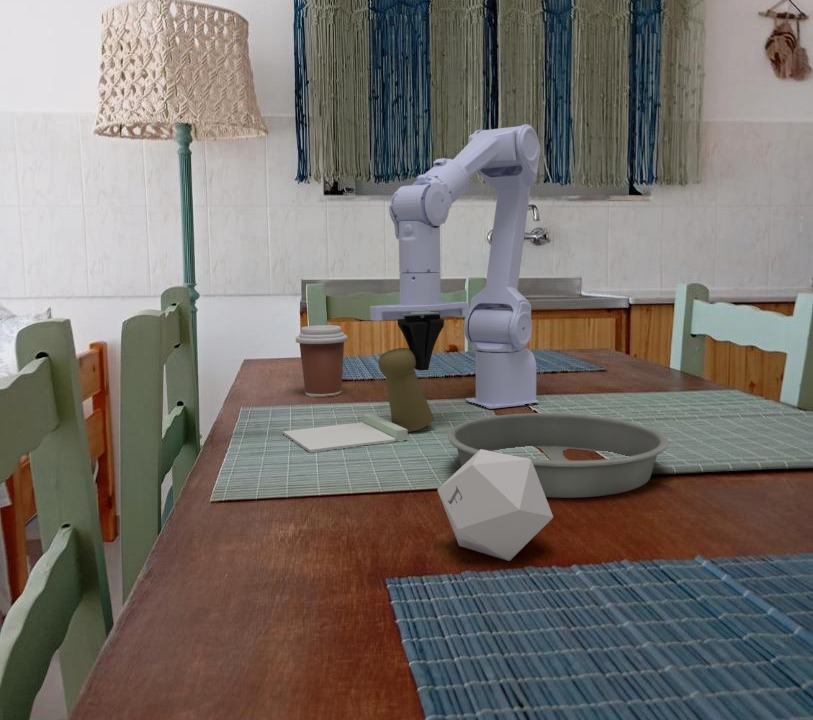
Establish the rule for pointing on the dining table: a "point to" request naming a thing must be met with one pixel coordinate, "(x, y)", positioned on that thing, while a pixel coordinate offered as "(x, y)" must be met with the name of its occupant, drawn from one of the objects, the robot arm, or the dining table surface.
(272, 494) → the dining table surface
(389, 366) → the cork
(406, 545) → the dining table surface
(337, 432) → the mat
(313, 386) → the coffee cup
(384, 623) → the dining table surface
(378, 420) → the kerb
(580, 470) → the cake pan
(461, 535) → the die
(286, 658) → the dining table surface
